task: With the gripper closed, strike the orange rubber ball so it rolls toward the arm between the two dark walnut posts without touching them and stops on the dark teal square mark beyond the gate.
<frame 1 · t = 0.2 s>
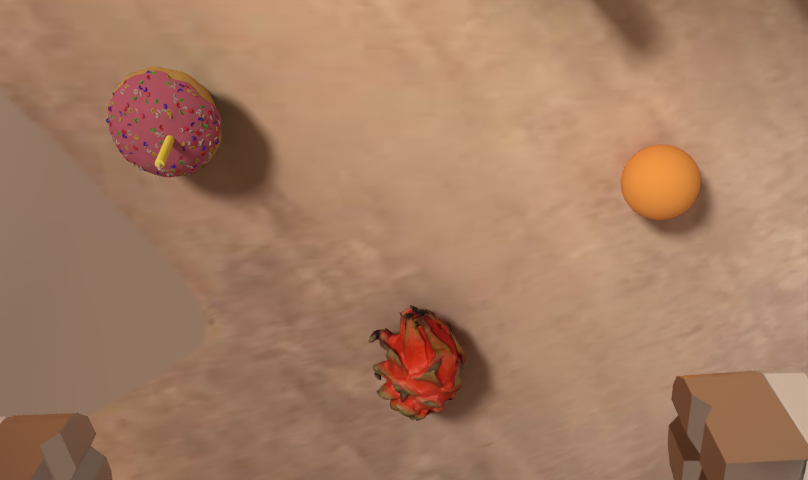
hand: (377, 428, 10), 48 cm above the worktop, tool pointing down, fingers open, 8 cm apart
dragon fruit: (418, 336, 68), on the worktop
ball: (660, 182, 56), on the worktop
cupcake: (183, 105, 58), on the worktop
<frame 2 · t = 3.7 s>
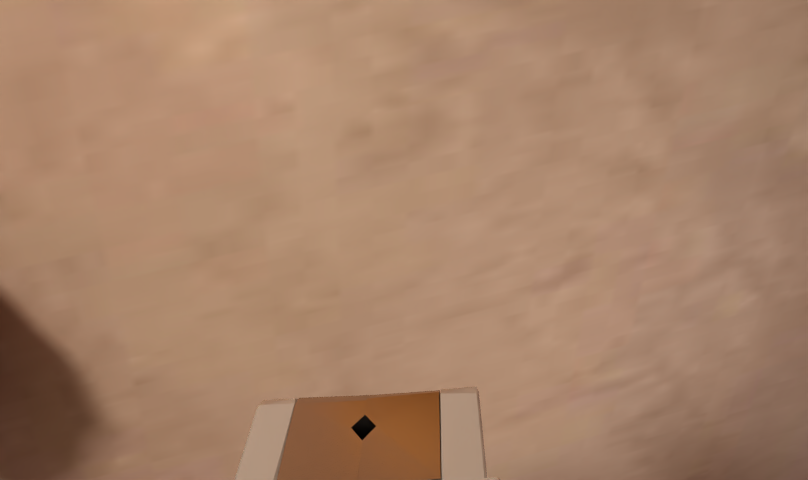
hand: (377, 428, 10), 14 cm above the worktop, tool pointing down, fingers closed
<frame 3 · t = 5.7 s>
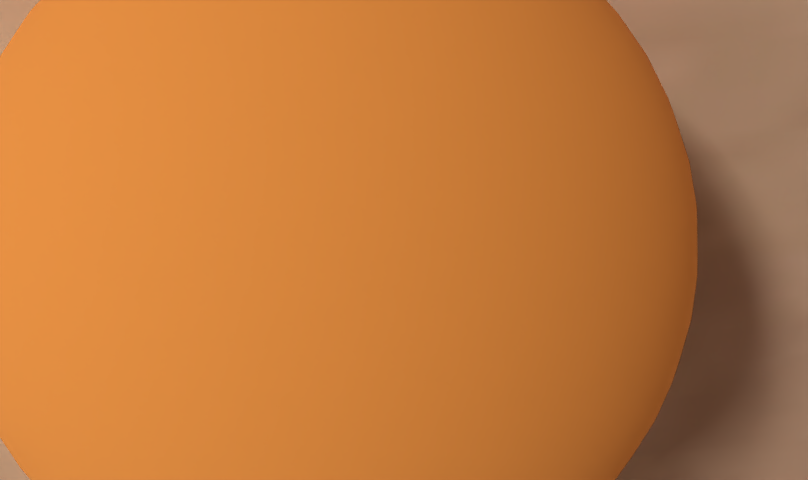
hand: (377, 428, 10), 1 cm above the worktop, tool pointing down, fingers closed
ball: (340, 244, 6), on the worktop
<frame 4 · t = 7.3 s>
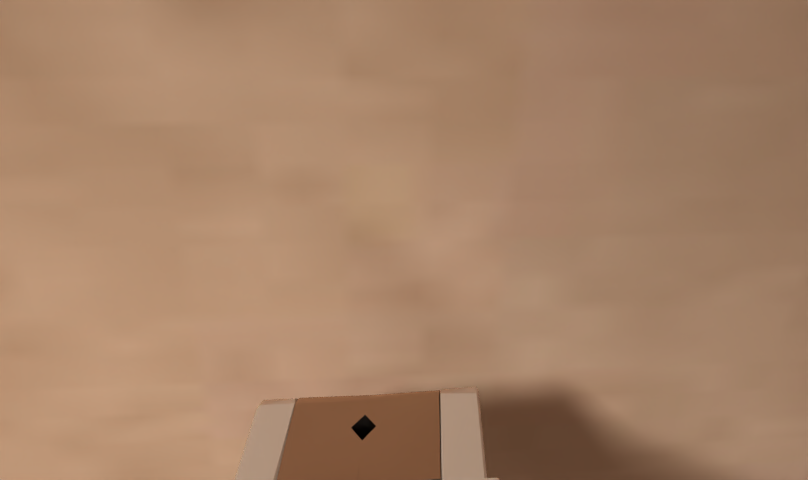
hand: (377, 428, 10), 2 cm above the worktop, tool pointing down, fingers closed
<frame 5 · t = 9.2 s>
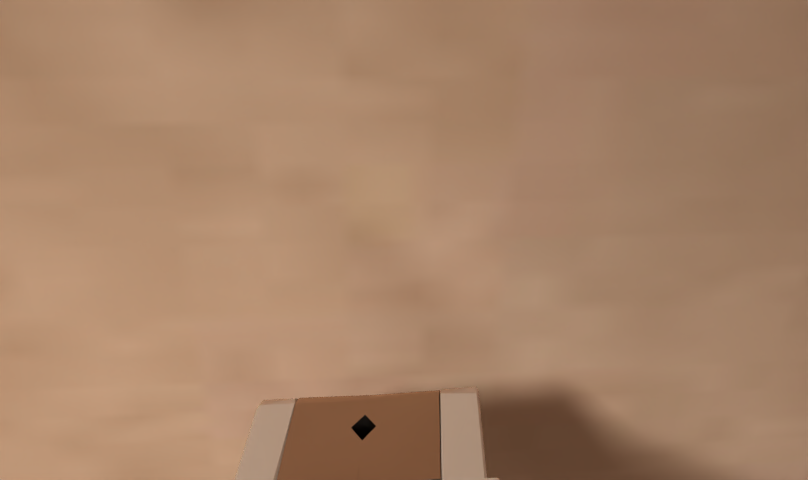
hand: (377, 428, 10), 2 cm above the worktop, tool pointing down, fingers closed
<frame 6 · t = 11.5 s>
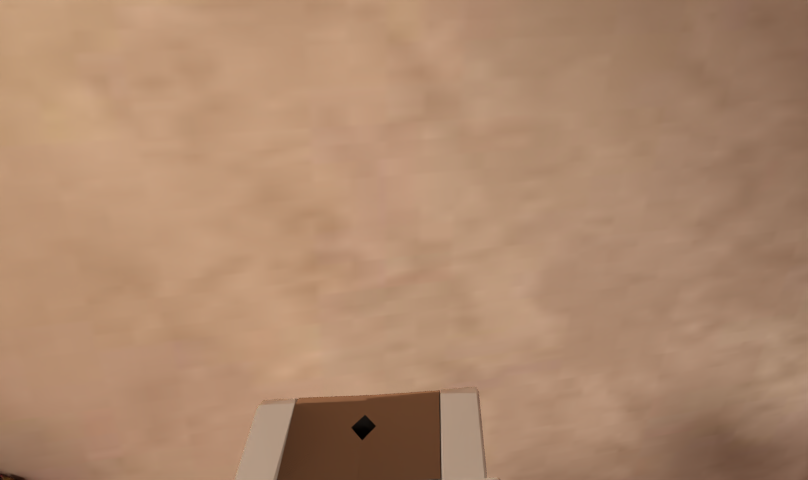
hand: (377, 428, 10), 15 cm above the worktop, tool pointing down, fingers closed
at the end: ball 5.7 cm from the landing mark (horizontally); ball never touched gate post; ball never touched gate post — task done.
